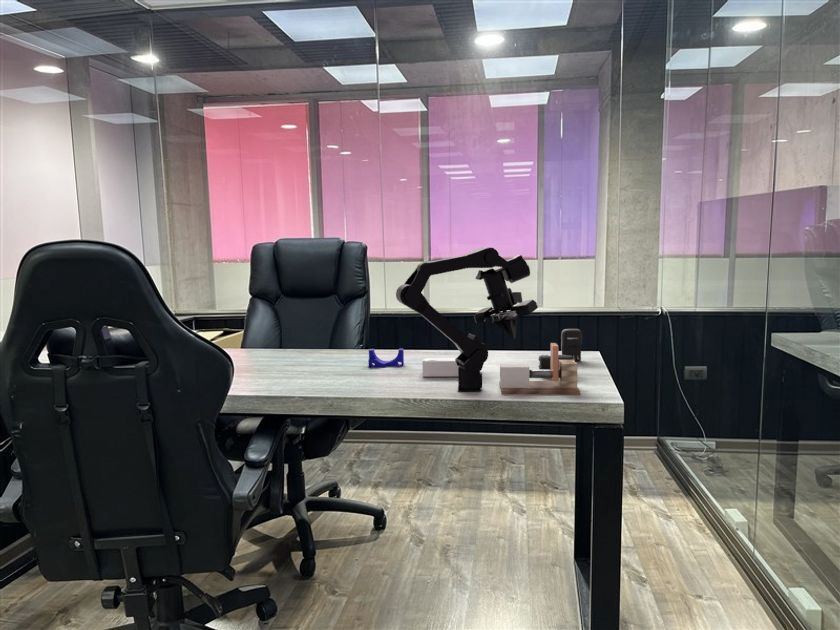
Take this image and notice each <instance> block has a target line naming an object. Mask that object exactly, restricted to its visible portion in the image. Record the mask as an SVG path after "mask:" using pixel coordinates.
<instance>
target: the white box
mask: <svg viewBox="0 0 840 630" xmlns="http://www.w3.org/2000/svg"><path fill="white" fill-rule="evenodd" d="M456 358H457V357H430V358H429V357H427V358H426V357H425V358H424V359H423V360H422V362H421V363H422V377H458V367H459V366H457V363H456V361H455V359H456Z"/></svg>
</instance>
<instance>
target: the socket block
mask: <svg viewBox="0 0 840 630" xmlns="http://www.w3.org/2000/svg"><path fill="white" fill-rule="evenodd" d="M559 370H561V378H558V381H559V385H560V386H561V388H577V387H578V362H577V361H576V362H575V361H574V360H559Z"/></svg>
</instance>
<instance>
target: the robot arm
mask: <svg viewBox="0 0 840 630" xmlns="http://www.w3.org/2000/svg"><path fill="white" fill-rule="evenodd" d="M494 267H496V268H498V269H494ZM465 269H480V270H478V271H477V272H478V273H477V274H476V276H475V280H479V281H481V280H483V282H484V285H485V287H486V290H487V293H488V296H486V299H487V301H490V302H491V305H492V306H489V307H483V308H481V309H479V311H476V313H475V314H474V317H473V319H474V321H475V324H480V323H485V322H486V319H487V318H492V323H493V324H495V325H496V326H498V327H499V328H500V329H501V330H502V331H503V332H504V333H505V334H506V335H508V337H509V338H510V339H512V340H514V339H516V338H517V321H518V317H523V316H528V315H529V316H530V314H532V313H533V312H535V310H537V309H538V308H539V306H538V303H537V302H536V301H535V300H534V299H528V300H523V296H522V291H512V289H511V288H510V287H508V286H507V282H509V283H510V284H513V283H515V282H518V281H521V280H524V279H525V278H528V277H530V275H531V269H530V266H529V264H528V263H527V261H526V260H525V259H524V258H523V255H521V254H518V255H515V256H514V257H511V258H510V259H505V258H503V257H502V256H500V254H499V252H498V251H497V250H496V248H494V247H480V248H477V249H474V250H472V251H469V252H467V253H465V254H463V255H459V256H454V257H448V258H443V259H438V260H434V261H433V260H432V261H428V262H426V261H423V262H420V263H419V264H417V266H416V268H415V269H414V270H413V272H412V273H411V275H410V276H409V277H408V278H407V279H406V281H405V282H404V284H401V285H400V286H399V287H397V289H396V292H395V298H396V300H397V301H398V302H399V303H400V304H401V305H404V307H407V308H408V309H411V310H412V311H414V312H415V313H417V314H420V316H422V317H423V319H425V320H426V321H428V323H430V324H431V325H432V326H434V328H435V329H437V330H438V331H440V333H442V334H443V335H444V336H445V337H446V338H448V339H449V340H450V341H451V342H452V343H453V344H454V345H455V347H456V348H457V350H458V351H459V352H460V353H459V355H458V356H457V357H455V358H456V359H455V361H456V363H457V366H459V367H458V376H457V378H458V379H457V381H458V386H457V391H458V392H481V389H483V372H482V369H483V367H484V364H485V362H487V360H488V358H489V350H488V348H487V347H486V346H487V344H486V343H483V342H482V341H481V340H480V339H479V338H478V337H477V336H476V335H474V334H471V333H468V335H466V334H464V333H463V332H462V331H461V330H460V329H459V328H457V327H456V326H455V325H454V324H453V323H451V321H449V320H448V319H447V318H446V317H444V315H442V314H441V313H440V312H439V311H437V309H435V308H434V307H433V306H432V305H431V304H430V303H429V301H428V300H427V298H426V297H425V296H424V294H423V290H424V289H425V287H426V285H427V283H428V281H429V278H430V277H431V276H434V275H435V276H436V275H440V274H444V273H451V272H455V271H460V270H465ZM481 269H486V270H484V271H483V270H481Z"/></svg>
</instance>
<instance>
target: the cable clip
mask: <svg viewBox="0 0 840 630" xmlns="http://www.w3.org/2000/svg"><path fill="white" fill-rule="evenodd" d="M404 351H405V350H404V348H399V349H398V352H397V355H396V356H395V358H393V359H391V360H383V359H381V358H379V357H378V356H377V354H376V352H375V348H370V349H369V350H368V359H367V361H368V369H369V368H377V369H378V368H386V367H404V365H405V359H404V358H405V357H404V356H405V355H404V353H405V352H404Z"/></svg>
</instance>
